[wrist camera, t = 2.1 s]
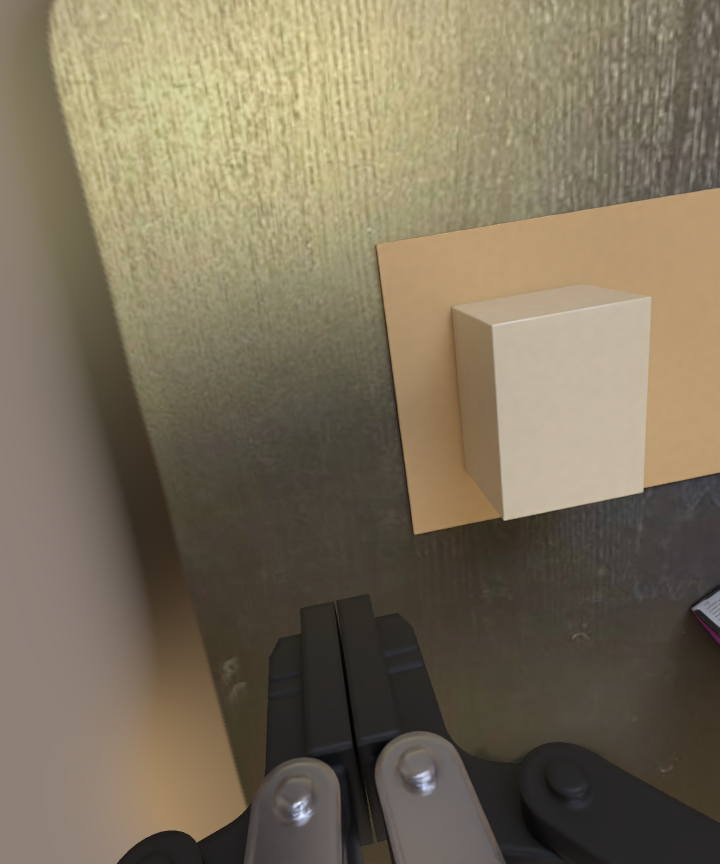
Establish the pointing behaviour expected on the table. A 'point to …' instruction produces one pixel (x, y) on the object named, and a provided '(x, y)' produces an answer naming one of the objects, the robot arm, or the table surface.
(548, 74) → the table surface
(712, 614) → the candy bar box
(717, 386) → the runner
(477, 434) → the cream cardboard carton
